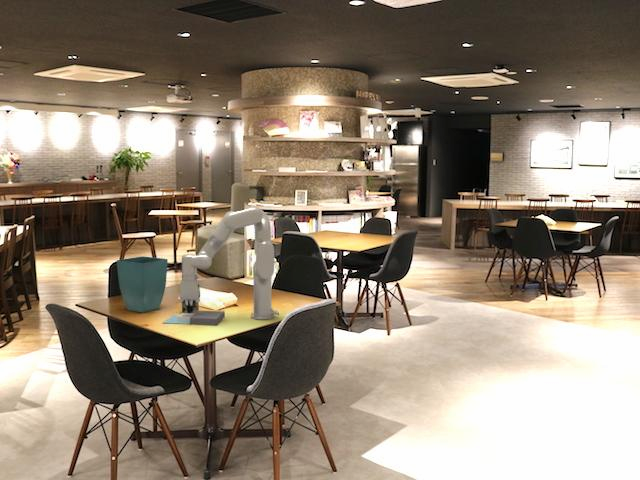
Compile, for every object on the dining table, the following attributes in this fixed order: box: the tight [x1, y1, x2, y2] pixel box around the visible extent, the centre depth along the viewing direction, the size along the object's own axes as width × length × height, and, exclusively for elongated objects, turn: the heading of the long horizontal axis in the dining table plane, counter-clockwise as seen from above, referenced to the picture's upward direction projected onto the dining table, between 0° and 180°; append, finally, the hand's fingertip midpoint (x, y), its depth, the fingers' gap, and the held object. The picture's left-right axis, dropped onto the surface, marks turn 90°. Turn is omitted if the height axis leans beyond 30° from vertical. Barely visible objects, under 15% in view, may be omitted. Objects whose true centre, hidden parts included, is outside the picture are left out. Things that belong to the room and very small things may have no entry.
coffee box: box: [181, 300, 200, 314], centre depth 346 cm, size 9×6×16 cm
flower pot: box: [116, 255, 169, 313], centre depth 351 cm, size 20×20×28 cm
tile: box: [177, 312, 194, 321], centre depth 331 cm, size 8×7×2 cm
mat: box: [162, 314, 191, 325], centre depth 331 cm, size 14×16×1 cm
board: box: [189, 309, 226, 326], centre depth 329 cm, size 14×16×4 cm
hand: (189, 312), depth 330 cm, fingers closed
